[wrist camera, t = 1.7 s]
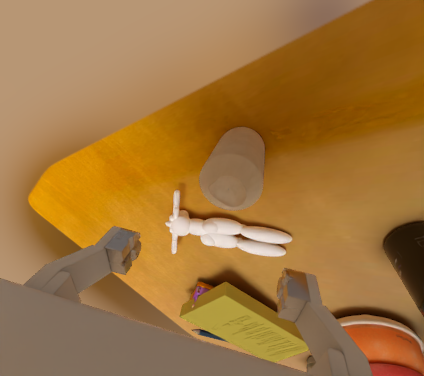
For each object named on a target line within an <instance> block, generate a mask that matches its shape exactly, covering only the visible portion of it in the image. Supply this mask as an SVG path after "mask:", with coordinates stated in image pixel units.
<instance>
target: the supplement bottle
mask: <svg viewBox="0 0 424 376" xmlns="http://www.w3.org/2000/svg"><path fill="white" fill-rule="evenodd" d="M384 250H385V253H386V255H387V257H388V258H389V260H390V262H391V264H392V265H393V267H394V269H395V270H396V272H397V274H398V275H399V277H400V279H401V280H402V282H403V284H404V285H405V287H406V289H407V290H408V292H409V294H410V295H411V297H412V299H413V300H414V302H415V304H416V305H417V307H418V309H419V310H420V312H421V313H422V315H423V316H424V223H414V224H409V225H406V226H403V227H401V228H399V229H397V230H395V231H394V232H392V233H391V234H390V235H389V236H388V238H387V239H386V241H385V244H384Z"/></svg>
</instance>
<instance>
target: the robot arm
mask: <svg viewBox="0 0 424 376" xmlns="http://www.w3.org/2000/svg"><path fill="white" fill-rule="evenodd" d="M139 238H140V233H138V232H135V231H132V230H128V229H124V228H120V227H116V226H114V227H112V228H111V229H110V230H109V231H108V232H107V233H106V234H105V235H104V236H103V237H102V238H101V239H100V241H99V242H98V243H97V244H96V245H95V246H94V245H91V246H89V247H87V248H84V249H82V250H79V251H77V252H75V253H72V254H70V255H68V256H65V257H63V258H61V259H58V260H56V261H54V262H51V263H49V264H46V265H45V266H44V267H43V268H42V269H40V270H39V271H38V272H37V273H36V274H35V275H34V276H33V277H32V278H30V279H29V280H28V281H27V282H26V283H25V284H24V285H21V284H17V283H14V282H11V281H8V280H4V279H1V278H0V376H373V374H372V371H371V368H370V365H369V362H368V359H367V357H366V356H365V354H364V353H363V352H362V351H361V350H360V348H359V347H358V346H357V345H356V343H355V342H354V341H353V340H352V338H351V337H350V336H349V335H348V333H347V332H346V331H345V330H344V328H343V327H342V326H341V325H340V323H339V322H338V321H337V320H336V318H335V317H334V316H333V315H332V313H331V312H330V311H329V310H328V308H327V307H326V306H323V305H322V301H321V296H320V292H319V288H318V283H317V279H316V276H315V275H313V274H309V273H304V272H301V271H296V270H292V269H288V268H284V269H283V271H282V277H280V278H279V281H278V285H277V297H278V298H279V302H278V304H277V309H278V317H279V318H282V319H285V320H289V321H292V322H295V324H296V326H297V328H298V330H299V332H300V334H301V335H302V337H303V339H304V341H305V343H306V345H307V346H308V348H309V350H310V352H311V354H312V356H313V358H314V359H315V361H316V364H315V365H314V366H313V367H312V368H311V369H310V371H309V372H308V373H307V372H303V371H300V370H297V369H294V368H290V367H287V366H284V365H281V364H277V363H274V362H271V361H268V360H264V359H261V358H258V357H255V356H251V355H248V354H245V353H242V352H238V351H235V350H232V349H229V348H225V347H222V346H219V345H216V344H212V343H209V342H206V341H203V340H199V339H196V338H193V337H190V336H186V335H183V334H180V333H177V332H173V331H170V330H167V329H164V328H160V327H157V326H154V325H150V324H147V323H144V322H141V321H137V320H134V319H131V318H128V317H125V316H121V315H118V314H114V313H112V312H108V311H105V310H101V309H99V308H95V307H92V306H89V305H85V304H82V303H81V300H80V297H79V295H78V293H80V292H81V291H83V290H85V289H86V288H88V287H89V286H91V285H92V284H94V283H95V282H97V281H98V280H100V279H102V278H103V277H105V276H106V275H108V274H109V273H111V271H112V272H116V273H120V274H124V275H126V273H127V272H128V270H129V269H130V267H131V266H132V261H133V260H135V259H136V258H137V257H138V255H139V253H140V250H141V242H140V241H139Z"/></svg>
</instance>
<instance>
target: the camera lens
mask: <svg viewBox="0 0 424 376" xmlns="http://www.w3.org/2000/svg"><path fill="white" fill-rule="evenodd" d="M315 364H316V361H315V359H314V358H313V356H311V357H309V358H308V360H307V373H308V372H309V371H310V369H311V368H312V367H313V366H314V365H315Z"/></svg>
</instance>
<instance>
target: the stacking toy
mask: <svg viewBox="0 0 424 376" xmlns="http://www.w3.org/2000/svg"><path fill="white" fill-rule="evenodd" d="M337 321H338V322H339V323H340V325H341V326H342V327H343V328H344V330H345V331H346V332H347V333H348V335H349V336H350V337H351V338H352V340H353V341H354V342H355V343H356V345H357V346H358V347H359V348H360V350H361V351H362V352H363V353H364V354H365V356H366V357H367V359H368V362H369V365H370V368H371V371H372V374H373V376H424V357H423V354H422V353H423V350H424V346H423V343H422V341H421V339H420V338H419V336H418V335H417V334H416V333H415V332H413V331H412V330H411V329H410V328H408V327H407V326H405V325H403V324H401V323H399V322H396V321H394V320H391V319H388V318H384V317H378V316H372V315H366V314H363V315H356V316H348V317H344V318H340V319H337Z"/></svg>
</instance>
